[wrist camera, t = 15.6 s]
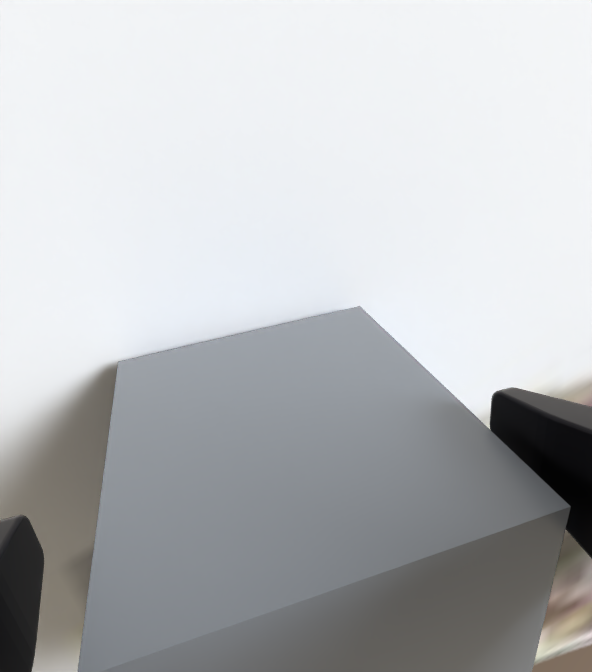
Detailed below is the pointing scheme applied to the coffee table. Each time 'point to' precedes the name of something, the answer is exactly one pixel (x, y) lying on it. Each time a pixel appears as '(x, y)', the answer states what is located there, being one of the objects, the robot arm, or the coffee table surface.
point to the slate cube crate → (312, 514)
